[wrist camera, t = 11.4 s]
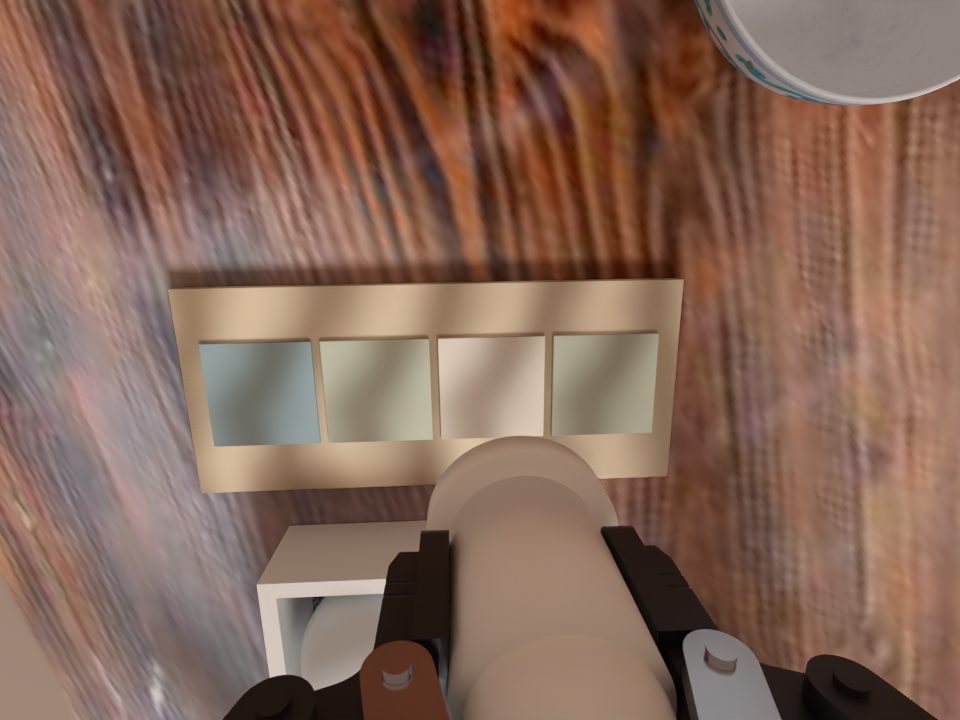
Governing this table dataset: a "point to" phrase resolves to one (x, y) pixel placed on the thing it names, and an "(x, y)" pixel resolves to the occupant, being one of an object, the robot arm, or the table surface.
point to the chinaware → (839, 46)
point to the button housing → (323, 577)
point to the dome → (339, 638)
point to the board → (423, 377)
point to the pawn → (540, 593)
